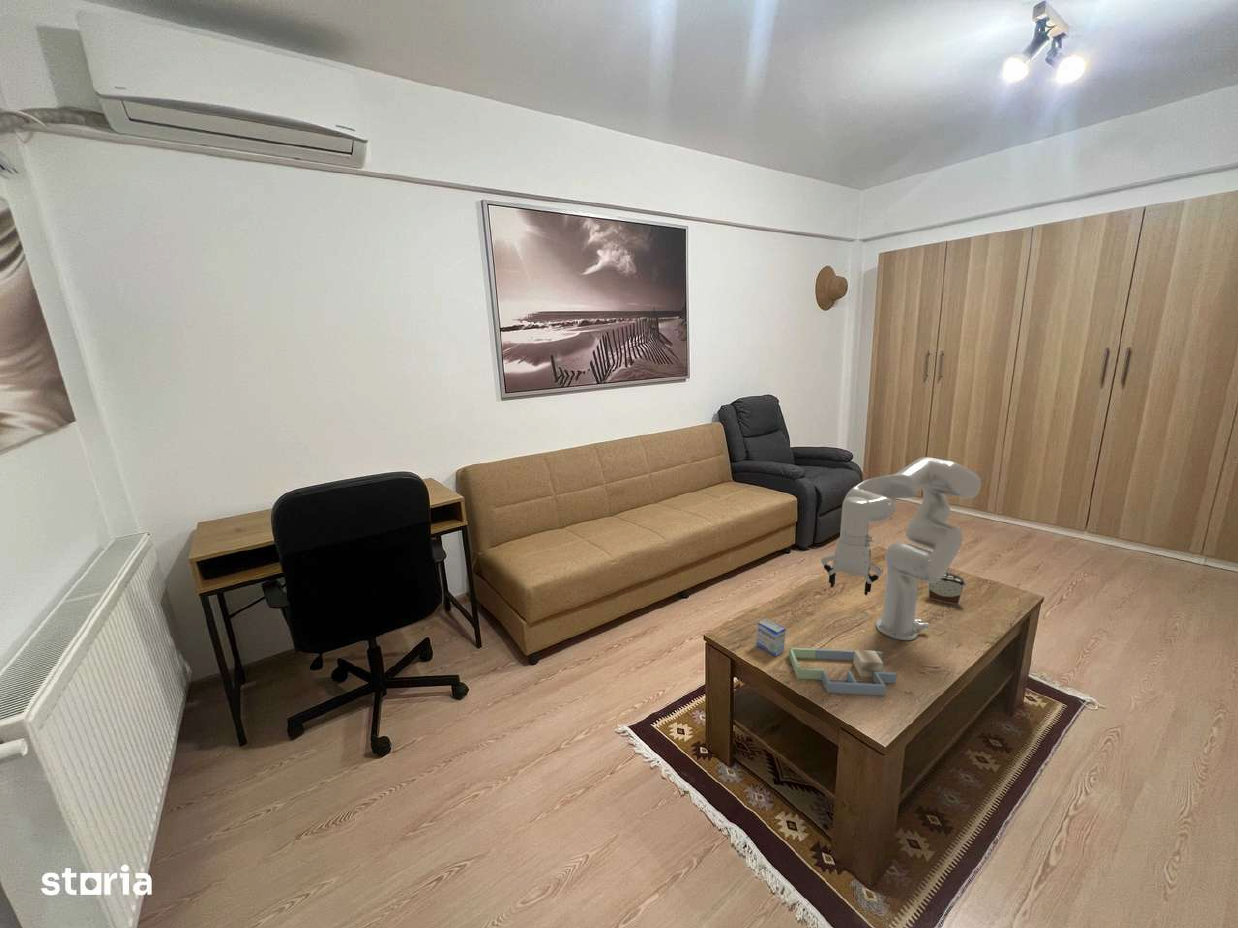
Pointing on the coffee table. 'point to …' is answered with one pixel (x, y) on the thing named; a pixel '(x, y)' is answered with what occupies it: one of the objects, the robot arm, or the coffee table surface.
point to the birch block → (867, 662)
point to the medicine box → (770, 637)
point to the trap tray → (850, 684)
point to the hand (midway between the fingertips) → (849, 589)
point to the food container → (947, 588)
